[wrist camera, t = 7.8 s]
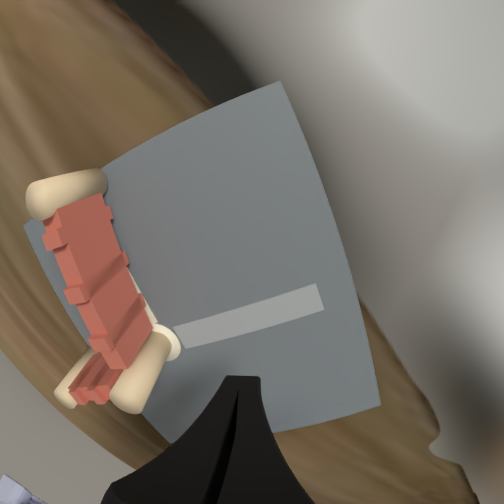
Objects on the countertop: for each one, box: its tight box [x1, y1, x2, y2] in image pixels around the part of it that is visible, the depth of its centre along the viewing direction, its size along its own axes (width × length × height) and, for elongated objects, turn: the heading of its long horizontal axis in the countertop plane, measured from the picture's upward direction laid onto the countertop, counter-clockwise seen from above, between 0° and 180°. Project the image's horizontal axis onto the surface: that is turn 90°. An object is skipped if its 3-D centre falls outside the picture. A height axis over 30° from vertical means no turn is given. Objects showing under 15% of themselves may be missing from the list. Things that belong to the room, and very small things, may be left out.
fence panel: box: [26, 168, 153, 369], centre depth 14 cm, size 10×2×5 cm, turn 14°
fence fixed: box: [54, 331, 172, 414], centre depth 17 cm, size 8×2×6 cm, turn 112°
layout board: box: [24, 81, 381, 443], centre depth 18 cm, size 23×20×1 cm
